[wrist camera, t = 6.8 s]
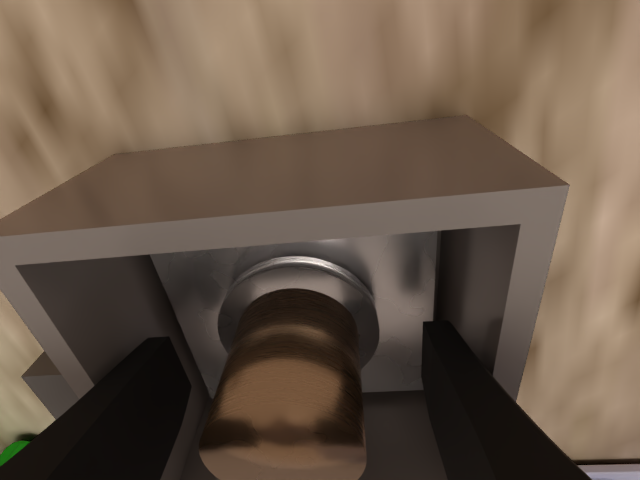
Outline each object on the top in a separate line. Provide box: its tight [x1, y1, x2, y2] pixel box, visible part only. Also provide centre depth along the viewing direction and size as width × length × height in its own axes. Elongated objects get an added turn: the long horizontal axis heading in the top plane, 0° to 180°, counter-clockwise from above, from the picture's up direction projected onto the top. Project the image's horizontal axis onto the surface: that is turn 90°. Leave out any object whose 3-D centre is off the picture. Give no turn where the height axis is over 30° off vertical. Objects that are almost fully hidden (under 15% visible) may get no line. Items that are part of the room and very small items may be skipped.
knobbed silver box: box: [0, 115, 570, 480], centre depth 11 cm, size 10×12×5 cm
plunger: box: [150, 231, 437, 480], centre depth 9 cm, size 8×8×5 cm
